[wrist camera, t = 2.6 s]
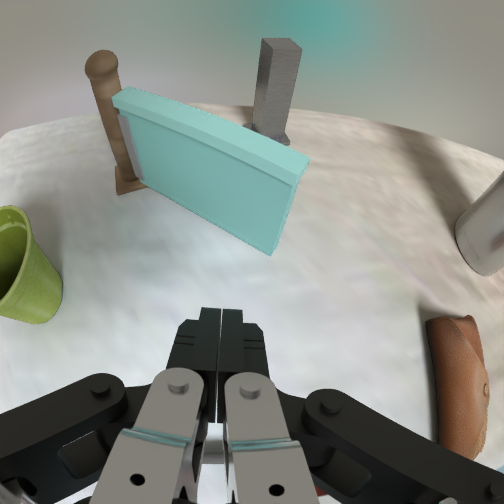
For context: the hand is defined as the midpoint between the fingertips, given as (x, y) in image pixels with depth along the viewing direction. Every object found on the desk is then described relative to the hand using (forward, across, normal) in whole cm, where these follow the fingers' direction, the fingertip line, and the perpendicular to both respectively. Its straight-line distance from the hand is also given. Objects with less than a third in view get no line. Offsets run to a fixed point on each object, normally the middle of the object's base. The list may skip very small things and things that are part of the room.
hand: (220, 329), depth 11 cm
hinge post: (+22, +11, -4) cm, 25 cm away
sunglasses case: (+6, -24, +13) cm, 28 cm away
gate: (+18, +3, -1) cm, 18 cm away
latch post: (+28, -4, -10) cm, 29 cm away
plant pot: (+12, +19, +7) cm, 23 cm away
